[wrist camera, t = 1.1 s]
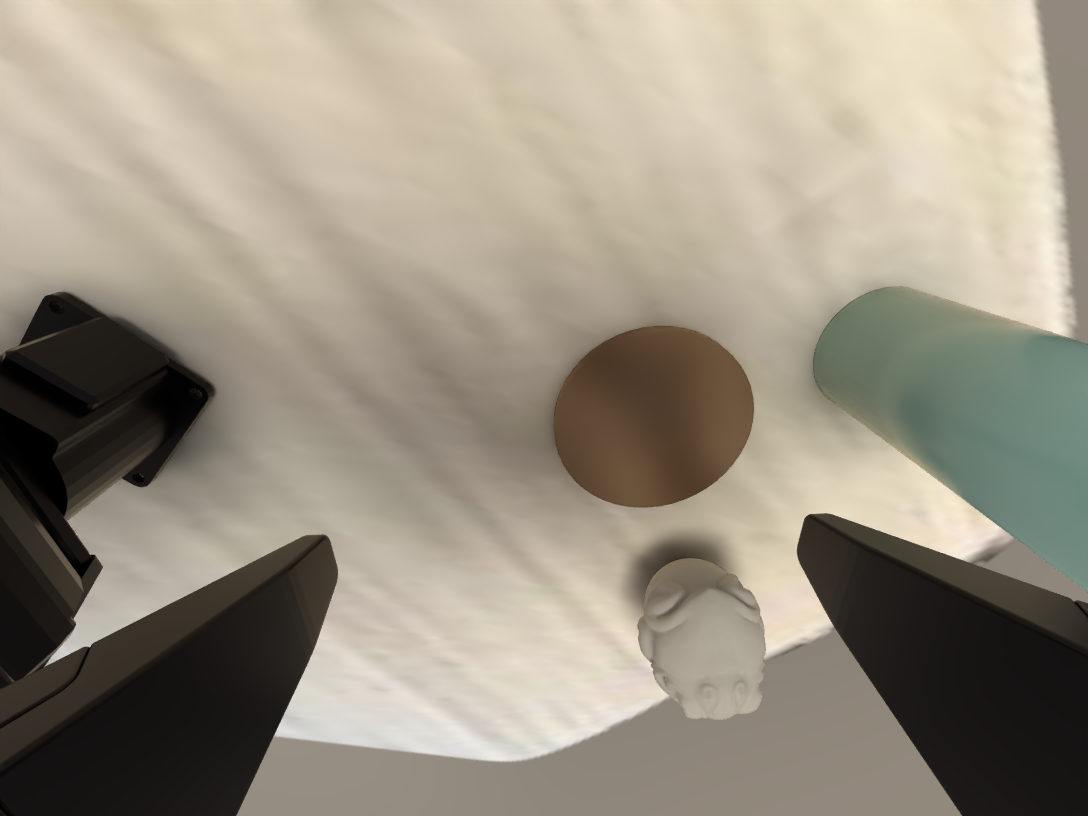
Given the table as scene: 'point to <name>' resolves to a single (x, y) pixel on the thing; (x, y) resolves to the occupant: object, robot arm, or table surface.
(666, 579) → the white sculpted piece
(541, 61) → the table surface
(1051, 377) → the teal round cylinder
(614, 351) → the coaster
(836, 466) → the table surface
